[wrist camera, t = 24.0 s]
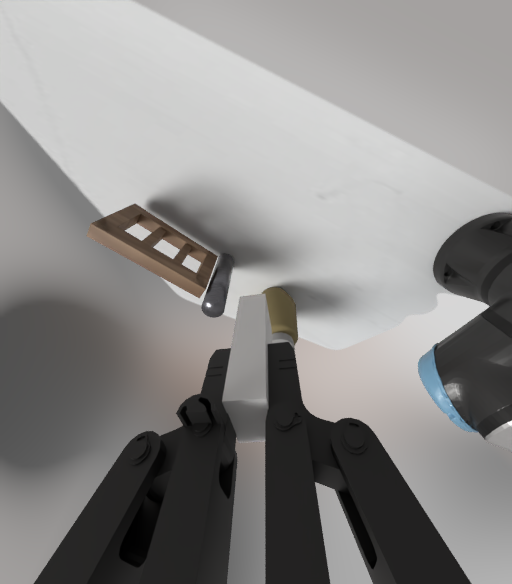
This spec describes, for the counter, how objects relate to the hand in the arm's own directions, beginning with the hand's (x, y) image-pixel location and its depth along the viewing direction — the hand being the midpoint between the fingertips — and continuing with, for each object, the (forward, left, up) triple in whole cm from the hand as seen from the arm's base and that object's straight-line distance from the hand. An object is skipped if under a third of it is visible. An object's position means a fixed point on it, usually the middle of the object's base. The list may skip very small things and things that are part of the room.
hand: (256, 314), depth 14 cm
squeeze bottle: (-11, +15, -29) cm, 34 cm away
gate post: (+1, +11, -29) cm, 31 cm away
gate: (+11, +9, -27) cm, 30 cm away
